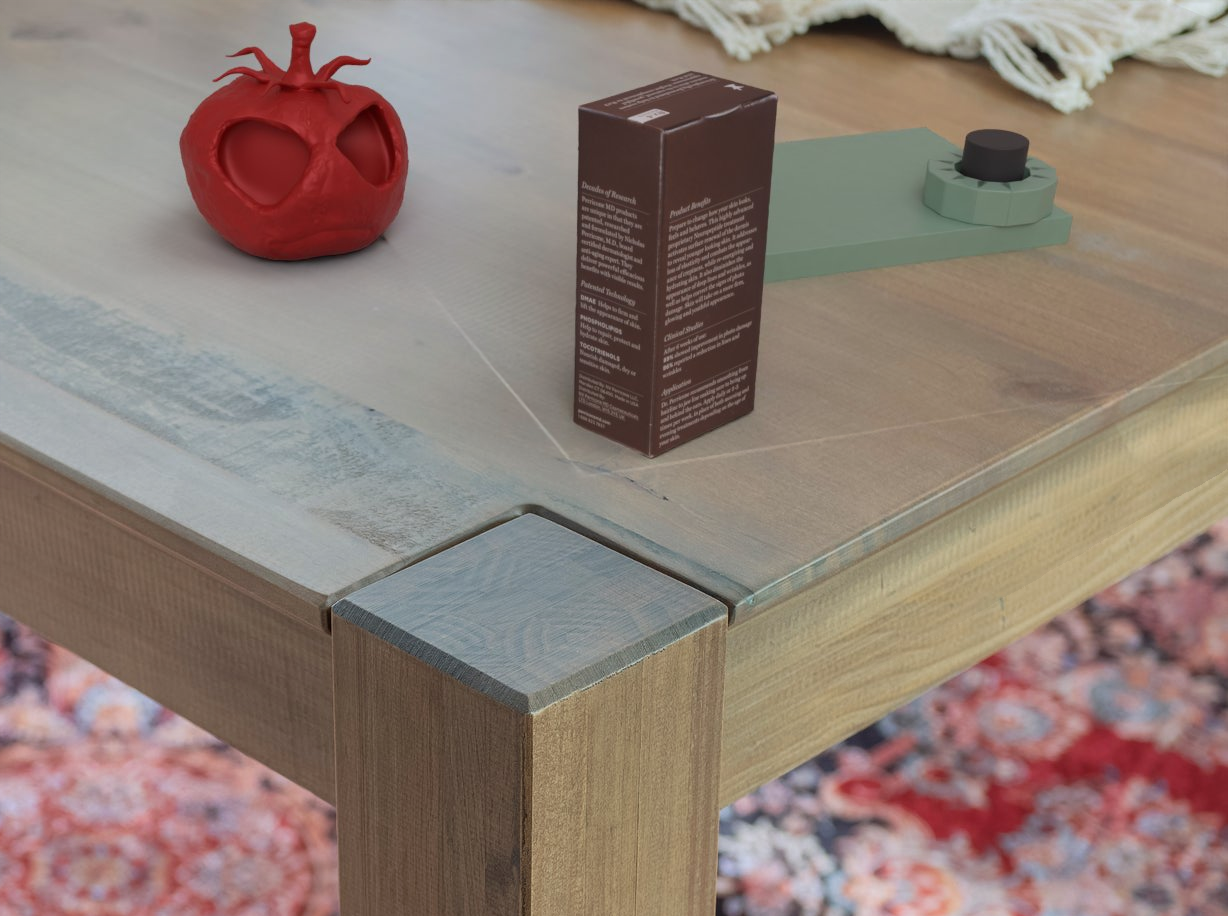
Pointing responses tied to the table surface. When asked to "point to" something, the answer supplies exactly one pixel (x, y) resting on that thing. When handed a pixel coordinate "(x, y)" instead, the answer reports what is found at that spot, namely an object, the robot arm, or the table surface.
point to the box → (670, 258)
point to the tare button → (994, 155)
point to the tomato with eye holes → (295, 157)
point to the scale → (897, 205)
